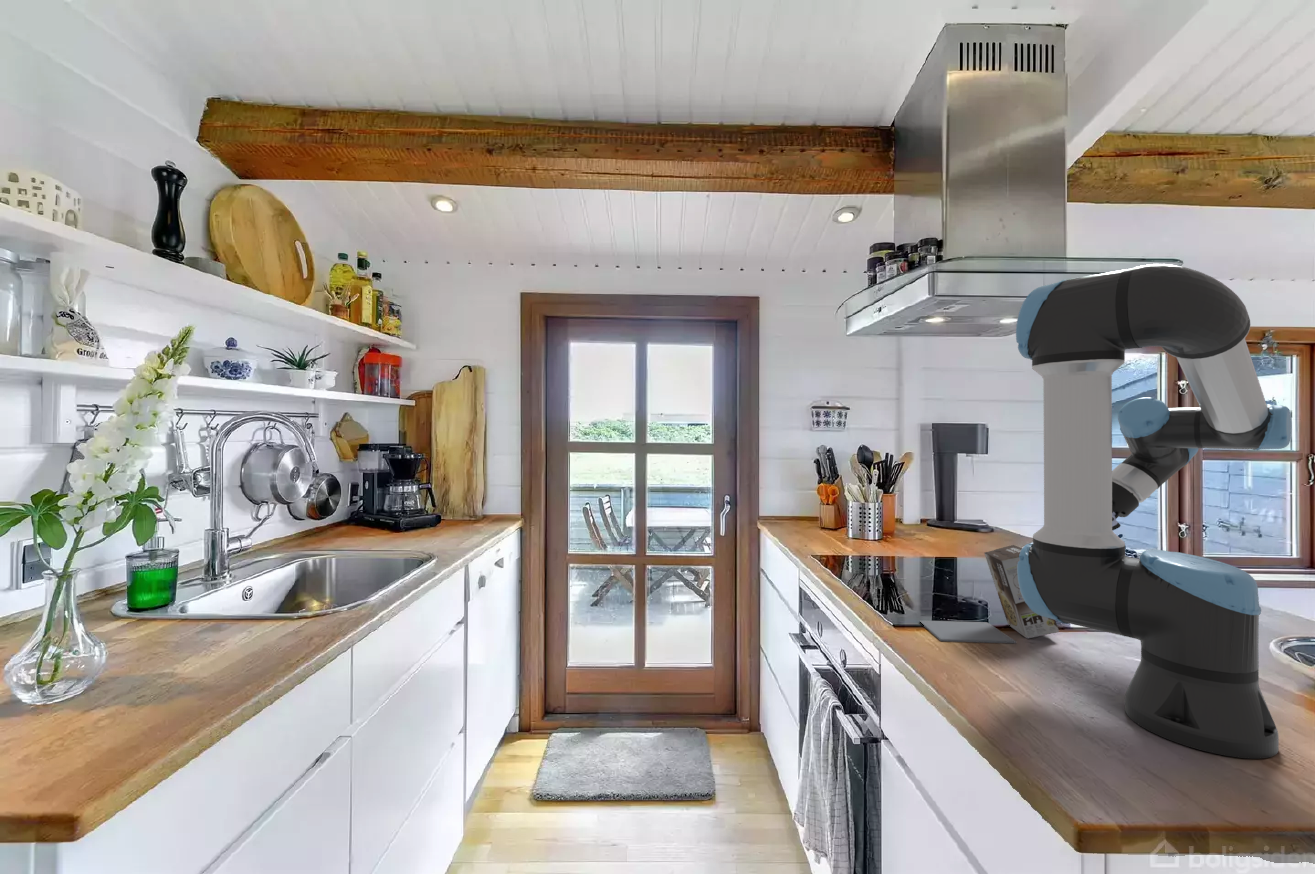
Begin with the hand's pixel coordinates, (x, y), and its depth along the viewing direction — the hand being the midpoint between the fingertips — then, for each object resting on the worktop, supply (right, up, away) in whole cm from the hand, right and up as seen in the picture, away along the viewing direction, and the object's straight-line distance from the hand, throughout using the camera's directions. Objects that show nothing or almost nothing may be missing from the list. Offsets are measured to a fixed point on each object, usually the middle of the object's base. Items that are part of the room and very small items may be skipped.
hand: (1033, 571), depth 115 cm
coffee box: (-1, -12, -1) cm, 12 cm away
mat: (-15, -12, -1) cm, 19 cm away
